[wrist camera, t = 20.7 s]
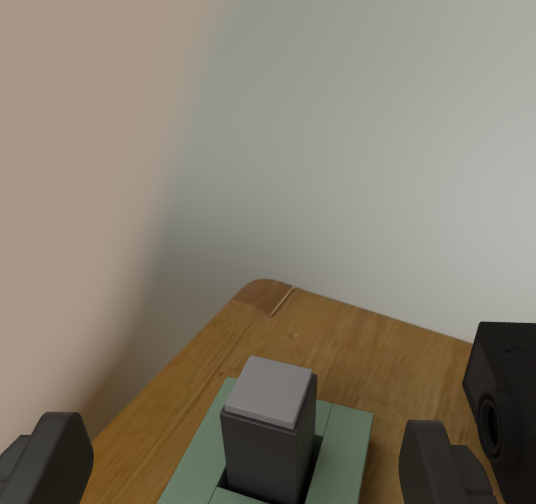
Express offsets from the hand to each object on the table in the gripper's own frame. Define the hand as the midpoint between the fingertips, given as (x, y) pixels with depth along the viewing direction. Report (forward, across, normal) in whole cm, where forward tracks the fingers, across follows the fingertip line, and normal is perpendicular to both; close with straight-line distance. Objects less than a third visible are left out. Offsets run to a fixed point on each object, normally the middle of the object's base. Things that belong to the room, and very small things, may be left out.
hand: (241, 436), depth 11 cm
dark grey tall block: (+11, 0, +21) cm, 23 cm away
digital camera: (+15, -17, +21) cm, 31 cm away
